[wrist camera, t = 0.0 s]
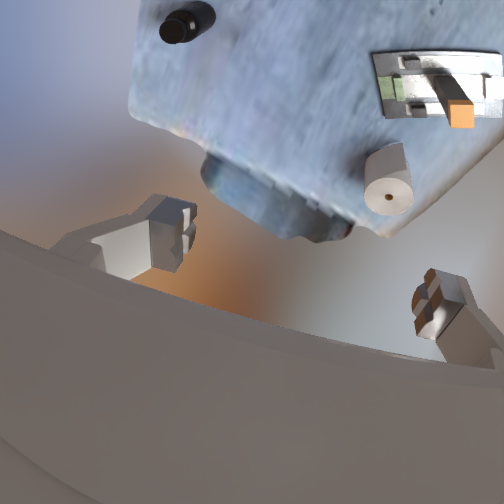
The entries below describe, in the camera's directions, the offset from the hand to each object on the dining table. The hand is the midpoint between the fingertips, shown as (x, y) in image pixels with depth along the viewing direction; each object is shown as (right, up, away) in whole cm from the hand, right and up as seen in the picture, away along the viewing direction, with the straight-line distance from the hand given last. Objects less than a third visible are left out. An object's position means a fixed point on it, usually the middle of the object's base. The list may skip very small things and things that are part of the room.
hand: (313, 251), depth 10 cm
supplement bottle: (-12, +45, +36) cm, 59 cm away
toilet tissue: (+28, +19, +54) cm, 64 cm away
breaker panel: (+34, +31, +33) cm, 57 cm away
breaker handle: (+33, +30, +32) cm, 55 cm away
